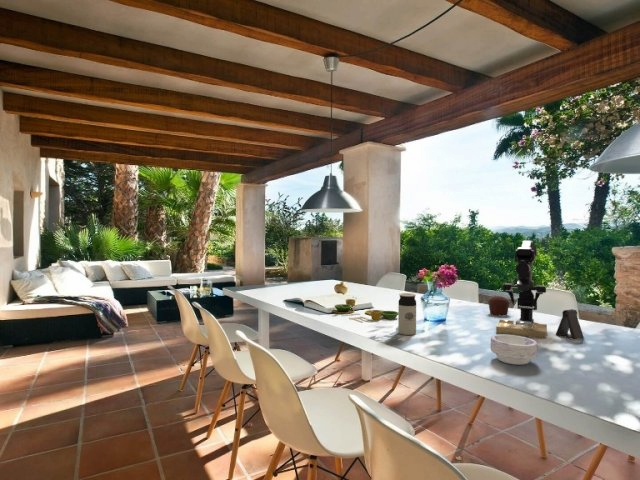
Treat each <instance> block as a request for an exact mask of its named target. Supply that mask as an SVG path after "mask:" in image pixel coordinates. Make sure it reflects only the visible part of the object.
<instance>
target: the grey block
mask: <svg viewBox="0 0 640 480" xmlns="http://www.w3.org/2000/svg"><path fill="white" fill-rule="evenodd" d="M515 324H517V325H526V326H532V322H531V321H521V320H519V319H518V320H515Z"/></svg>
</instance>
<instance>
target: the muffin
mask: <svg viewBox="0 0 640 480" xmlns="http://www.w3.org/2000/svg"><path fill="white" fill-rule="evenodd" d="M487 303H488V308H489V314H490V313H491V315H492V314H493V315H494V316H499V315H501V316H502V315H506V316H507V315H508V313H509V308H510V307H509V306H510V304H511V303H510V301H509V299H508V298H506V297H504V296H503V295H502V296H501V295H494V296H492V297H490V298H489V299H488V301H487ZM493 315H492V316H493ZM502 317H503V316H502Z"/></svg>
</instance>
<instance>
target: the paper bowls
mask: <svg viewBox="0 0 640 480" xmlns="http://www.w3.org/2000/svg"><path fill="white" fill-rule="evenodd" d="M490 352H492V353H494V354H495V355H496V357H497V359H498V360H499V361H500V362H502V363H505V364H509V365H518V366H519V365H520V366H523V365H527V364H529V363H530V362H531V359H535V358H537V356H538V342H537V341H536V340H534V339H532V338H530V337H526V336H518V335H509V334H494V335H492V336H491V337H490Z"/></svg>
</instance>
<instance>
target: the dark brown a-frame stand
mask: <svg viewBox="0 0 640 480" xmlns="http://www.w3.org/2000/svg"><path fill="white" fill-rule="evenodd" d="M561 314H562V317H561V320H560V322H559V325H558V327H557V330H556V332H555V336H557V337H562V338H567V339H571V340H574V341H575V340H580V339H584V338H585V337H584V333H583V331H582V327H581V325H580V321H579V319H578V311H577V310H576V309H573V308H571V309H565V310H564V309H563V311H562V313H561Z"/></svg>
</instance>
